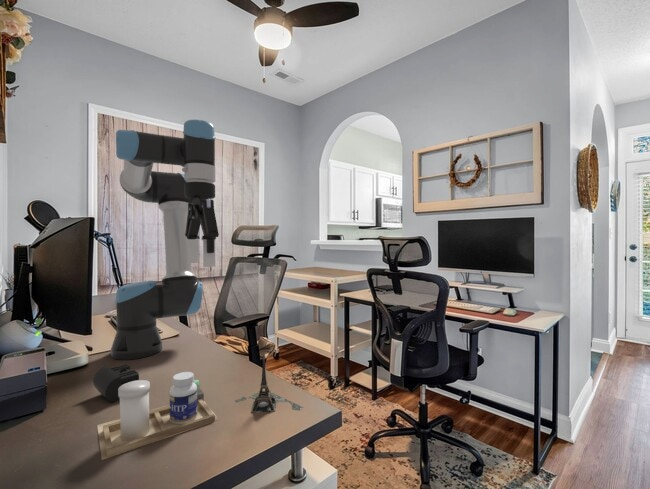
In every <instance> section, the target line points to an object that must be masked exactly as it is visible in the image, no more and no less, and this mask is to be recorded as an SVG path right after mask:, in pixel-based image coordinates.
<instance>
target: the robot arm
mask: <svg viewBox="0 0 650 489" xmlns="http://www.w3.org/2000/svg"><path fill="white" fill-rule="evenodd" d="M182 134H183V137H177V136H171V135H163V134H156V133H149V132H142V131H136V130H133V129H131V130H129V129H118V130H116V132H115V153H116V158H117V159H119V160H123V169H122V171H121V172H120V175H119V184H120V187H121V189H123V191H124V193H126V194H128V196H130V197H132V198H134V199H135V200H138V201H141V202H144V203H152V204H158V209H159V210H161V211H162V212H163V228H164V229H163V231H164V234H163V235H164V250H165V252H164V253H165V271H166V272H165V275H164V276H163V277H162V278H161V284H157V282H156V281H155V280H144V281H143V280H142V281H136V282H131V283H128V284H125V285H124V284H123V285H122V286H120V287H118V289H117V290H116V292H115V295H116V298H115V303H116V333H115V335H114V339H113V341H112V344H111V348H110V358H112V359H114V360H115V359H116V360H135V359H136V360H137V359H141V358H145V357H146V358H147V357H149V356H153V355H155V354H158V353H159V352H161V351H162V350H163V340H162V338H161V335H160V333H159V330H158V327H157V319H166V318H172V317H173V318H174V317H182V316H184V317H186V316H189V315H195V314H197V313H198V312H199V311H200V310H201V309H200V308H201V306H202V301H203V296H204V295H203V294H204V292H203V291H204V290H203V289H204V288H203V282H202V281H199V280H198V276H197V275H196V274H194V273H193V267H192V264H197V263H200V261H199V260H200V259H199V257H200V253H199V252H200V250H199V249H200V248H199V244H200V243H199V240H200V239H201V241H202V261H203V262H202V264H203V265H202V267H203V268H208V267H209V268H210V267H216V241H217V240H216V239H217V238H219V235H220V234H219V230H218V229H219V227H218V223H217V219H216V218H217V216H216V213H215V206H214V204H215V203H214V202H215V200H214V199H215V198H216V185H215V184H214V183H215V182H216V155H215V154H216V153H215V152H216V149H215V148H216V145H215V144H216V142H215V140H216V134H215V127H214V124H212V123H211V122H209V121H206V120H203V119H188V120H186V121H184V123H183V131H182ZM154 164H162V165H173V166H181V167H182V168H181V171H182V172H183V173H181V172H176V173H175V172H164V171H154V170H153V167H154ZM200 228H201V230H202V233H203V235H202V236H201V238H200V235H199V232H200Z"/></svg>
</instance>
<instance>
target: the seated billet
mask: <svg viewBox="0 0 650 489" xmlns="http://www.w3.org/2000/svg"><path fill="white" fill-rule="evenodd" d="M150 391H151V382H150V381H149V380H147V379H139V380H136V381H131V382H128V383H125V384H123V385H122V386H120V387H119V388H118V396H119V398H120V401H119V419H120V438H121V440H122V441H127V442H128V441H133V440H136V439H139V438H142V437H144V436H146V435H147V434H148V433H149V430H150V429H149V410H150Z"/></svg>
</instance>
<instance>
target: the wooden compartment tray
mask: <svg viewBox="0 0 650 489" xmlns="http://www.w3.org/2000/svg"><path fill="white" fill-rule="evenodd" d="M204 393H205V392H204V391H202V390H201V388H200V387H199V389H198V390H197V417H196V418H195V419H194V420H192V421H191V422H188V423H185V424H173V423H172V422H171V421H170V403H169V404H165V405H163V406H159V407H155V408H153V409H152V408H151V409H149V429H150V430H149V433H148V434H147V435H146V436H144V437H142V438H139V439H136V440H133V441H128V442H127V441H122V440H121V438H120V418H117V419H114V420H110V421H107V422H103V423H100V424H99V423H98V424H97V425H96V426H97V434H98V442H99V448H100V449H99V450H100V457H101V458H100V459H101V460H102V461H104V460H106V459H109V458H112V457H114V456H118V455H120V454H121V455H122V454H124V453H126V452H129V451H133V450H135V449H138V448H141V447H144V446H148V445H149V444H150V445H151V444H153V443H155V442H158V441H161V440H165V439H167V438H168V439H169V438H171V437H173V436H175V435H179V434H182V433H185V432H188V431H191V430H194V429H196V428H197V429H198V428H200V427H203V426H206V425H209V424H211V423H214V422H217V421H219V420H220V419H219V418H218V416H217V415H216V414H215V412H214V411H213V410H212V409H211V408H210V406H209V405H208V403H206V401H205V400H204V399H205V398H204V397H205V394H204Z"/></svg>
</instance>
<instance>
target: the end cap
mask: <svg viewBox="0 0 650 489" xmlns="http://www.w3.org/2000/svg"><path fill="white" fill-rule="evenodd" d="M129 369H131V366H130V365H128V364H123V365H118V366H114V367H109V366H108V365H105V366H103V367H101V368H100V369H99V370H97V372H96V373H95V374H94V376H93V379H92V383H93V386H94V388H95V389H96V390H97V391H98V392H99V393H100V394H101V395H102V396H103V398H104V399H106V401H108V402H109V403H112V404H113V403H118V402H120V398H119V396H118V388H119V387H120V386H122V385H123V384H125V383H128V382H131V381H136V380H140V374H139V372H138V371H136V370H135V369H132V370H129ZM127 370H129V371H127Z"/></svg>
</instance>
